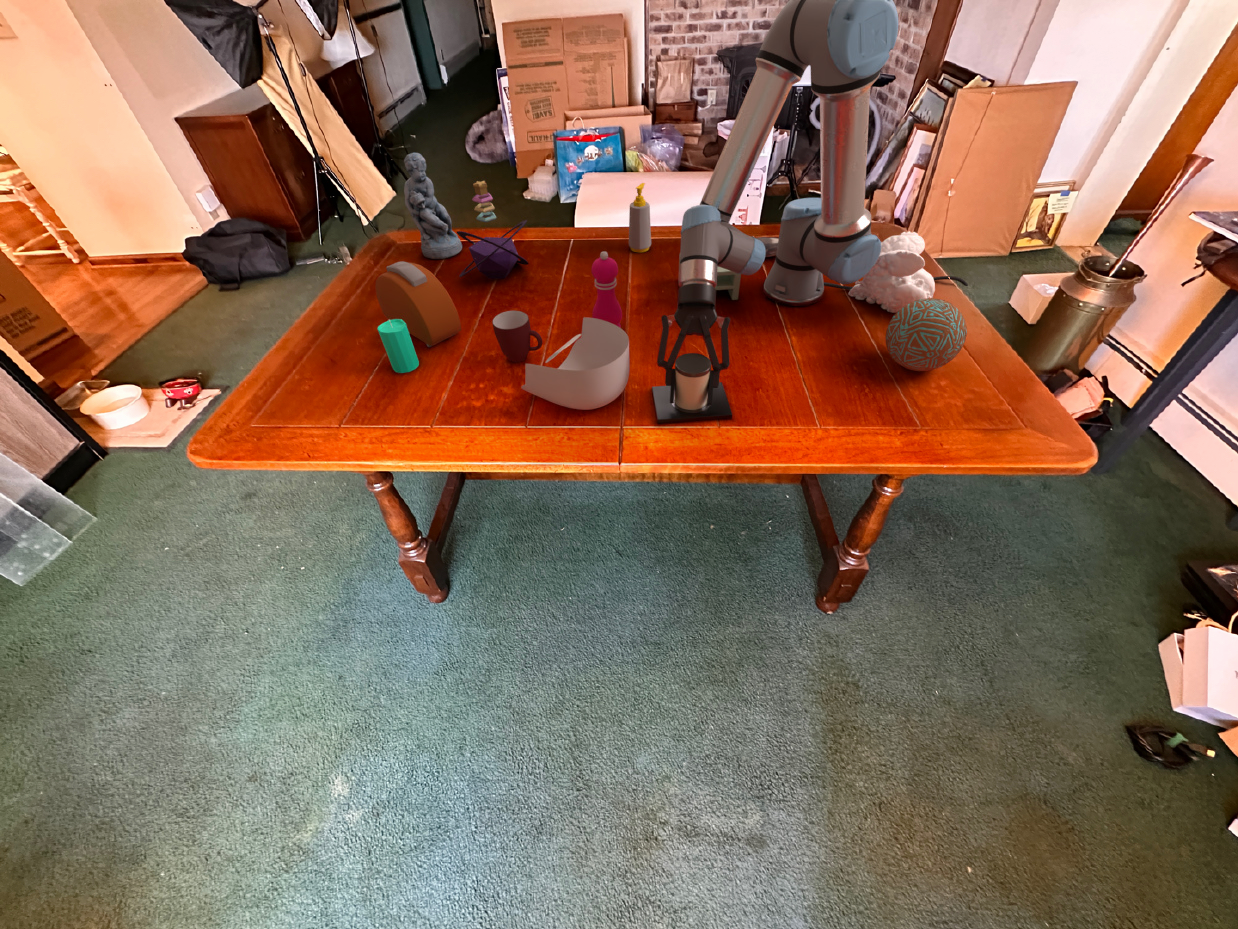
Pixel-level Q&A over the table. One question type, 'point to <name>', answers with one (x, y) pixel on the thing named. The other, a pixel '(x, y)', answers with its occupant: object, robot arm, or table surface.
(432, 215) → the statue
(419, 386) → the table surface
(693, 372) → the jar
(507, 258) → the purple faceted sculpture
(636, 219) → the soap bottle
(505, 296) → the table surface
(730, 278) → the small table
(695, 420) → the hob plate
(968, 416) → the table surface
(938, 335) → the decorative sphere
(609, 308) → the pepper mill
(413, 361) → the candle
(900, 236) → the white lumpy figure
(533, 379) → the white curved piece
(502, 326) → the mug
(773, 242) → the decorative bird
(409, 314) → the alarm clock
